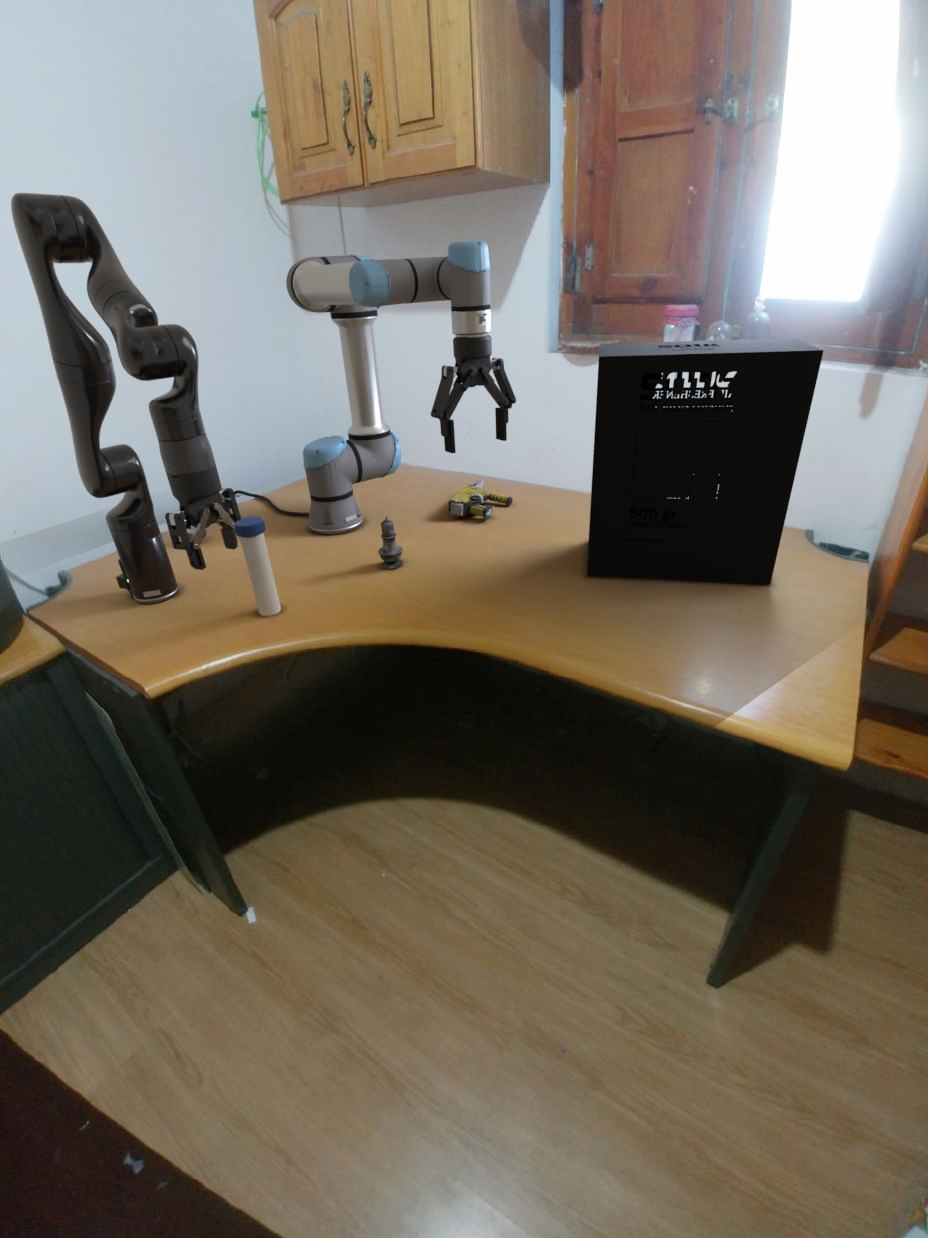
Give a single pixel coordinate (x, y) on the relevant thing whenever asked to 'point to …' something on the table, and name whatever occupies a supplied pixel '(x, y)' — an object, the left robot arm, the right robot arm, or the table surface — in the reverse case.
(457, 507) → the toy gun
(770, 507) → the cardboard box
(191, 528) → the eyeball
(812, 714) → the table surface
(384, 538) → the grey tall stepped piece
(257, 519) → the lid
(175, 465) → the left robot arm
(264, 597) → the jar
